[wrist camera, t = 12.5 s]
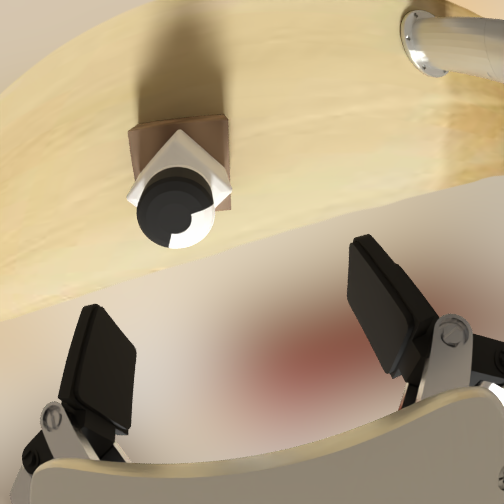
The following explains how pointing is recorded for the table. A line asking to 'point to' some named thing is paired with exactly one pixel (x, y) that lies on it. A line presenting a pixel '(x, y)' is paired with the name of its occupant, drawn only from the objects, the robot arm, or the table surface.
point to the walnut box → (198, 128)
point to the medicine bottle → (179, 193)
